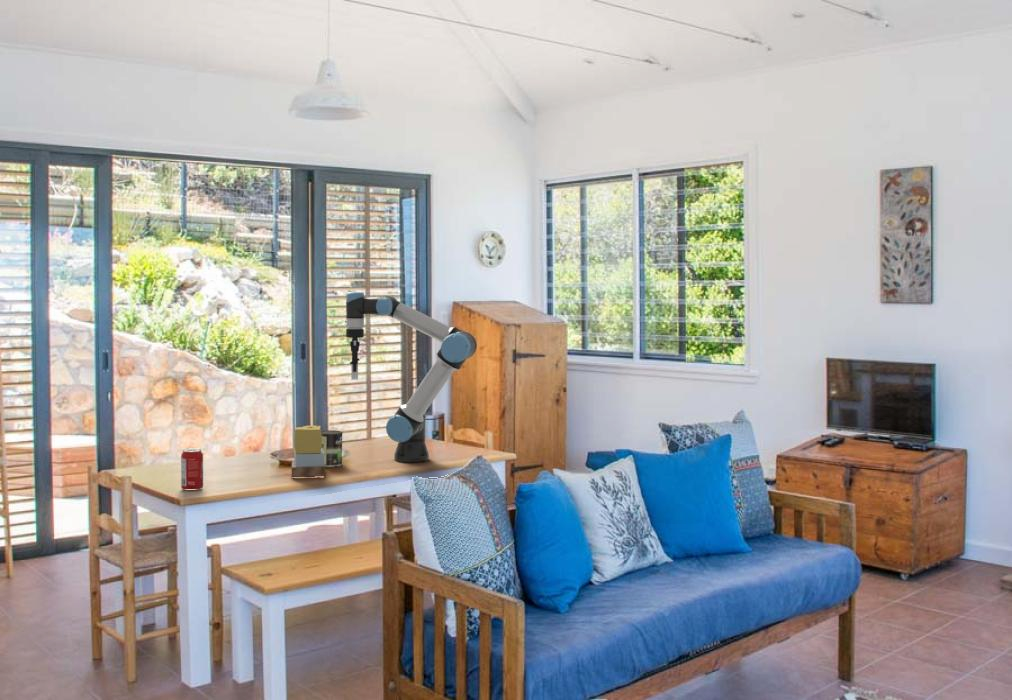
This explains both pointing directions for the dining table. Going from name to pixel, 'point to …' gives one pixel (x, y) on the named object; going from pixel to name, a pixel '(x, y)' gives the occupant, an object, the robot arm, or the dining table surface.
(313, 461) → the tower top
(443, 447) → the dining table surface
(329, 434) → the coffee can
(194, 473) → the soda can
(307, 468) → the tower base
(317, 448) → the olive yellow cube
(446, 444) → the dining table surface
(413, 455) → the robot arm
